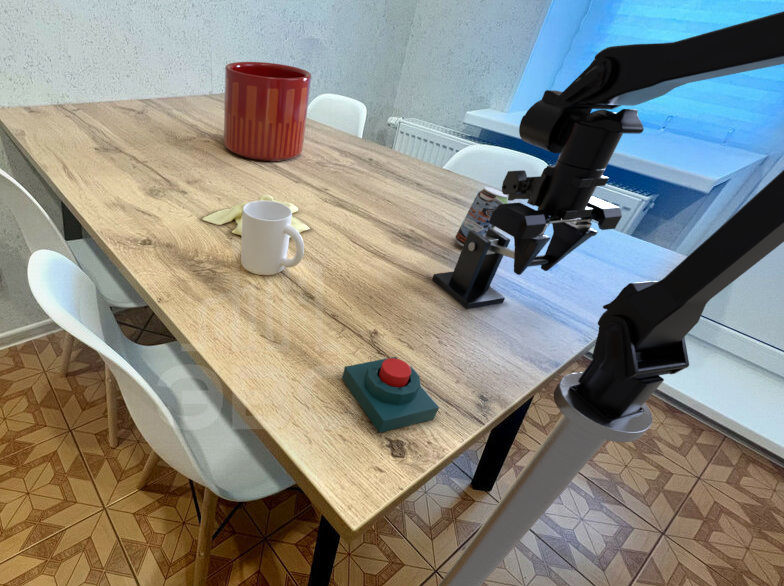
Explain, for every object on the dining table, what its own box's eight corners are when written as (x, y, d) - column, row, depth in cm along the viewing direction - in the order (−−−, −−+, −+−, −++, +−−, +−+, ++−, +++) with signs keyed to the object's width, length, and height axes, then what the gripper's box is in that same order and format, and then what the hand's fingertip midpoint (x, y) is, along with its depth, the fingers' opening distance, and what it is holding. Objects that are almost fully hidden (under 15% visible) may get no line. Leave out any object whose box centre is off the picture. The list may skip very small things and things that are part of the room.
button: (413, 384, 57) (417, 374, 56) (388, 390, 56) (392, 379, 55) (397, 366, 60) (401, 356, 59) (373, 371, 59) (376, 360, 57)
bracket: (502, 303, 81) (530, 246, 74) (466, 309, 78) (491, 251, 71) (466, 274, 88) (488, 220, 81) (431, 279, 85) (451, 223, 78)
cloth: (289, 201, 108) (292, 174, 104) (324, 237, 95) (329, 208, 91) (195, 208, 100) (194, 179, 96) (219, 247, 88) (219, 216, 84)
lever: (548, 268, 70) (553, 252, 69) (523, 272, 68) (528, 255, 67) (489, 248, 80) (492, 234, 79) (466, 251, 78) (469, 237, 77)
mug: (311, 272, 84) (320, 217, 77) (285, 289, 78) (292, 232, 72) (258, 249, 88) (262, 196, 82) (231, 265, 83) (232, 209, 76)
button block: (433, 419, 58) (444, 396, 56) (379, 433, 56) (387, 410, 53) (392, 368, 65) (399, 346, 62) (341, 378, 62) (347, 356, 60)
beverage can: (447, 241, 98) (467, 184, 91) (473, 238, 101) (495, 182, 93) (467, 255, 94) (490, 197, 86) (493, 251, 97) (518, 194, 89)
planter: (209, 152, 130) (209, 67, 117) (244, 134, 147) (247, 58, 133) (285, 169, 125) (293, 82, 111) (312, 148, 141) (322, 71, 128)
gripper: (581, 145, 69) (536, 243, 79) (482, 148, 63) (447, 254, 73) (651, 168, 61) (591, 274, 71) (545, 174, 55) (496, 288, 65)
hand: (530, 271), depth 70 cm, fingers closed on lever, 5 cm apart
